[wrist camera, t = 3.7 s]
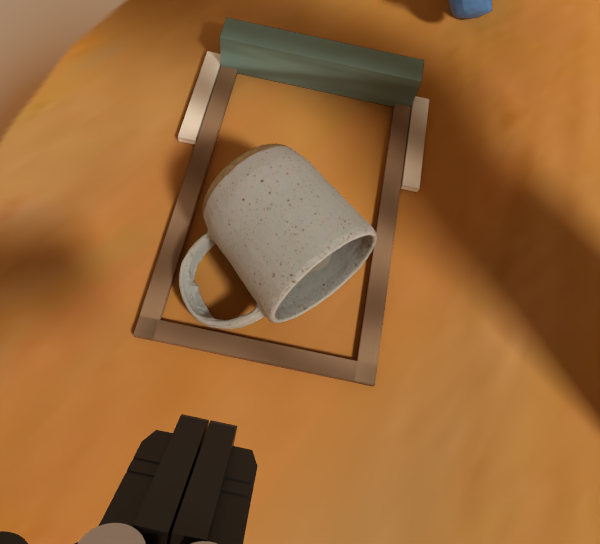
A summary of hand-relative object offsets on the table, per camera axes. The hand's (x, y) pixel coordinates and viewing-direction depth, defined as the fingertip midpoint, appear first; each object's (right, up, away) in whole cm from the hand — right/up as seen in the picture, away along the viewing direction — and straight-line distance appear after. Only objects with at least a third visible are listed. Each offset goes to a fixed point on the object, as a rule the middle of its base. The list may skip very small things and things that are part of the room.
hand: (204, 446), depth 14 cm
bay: (+2, +10, +21) cm, 24 cm away
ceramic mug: (0, +5, +19) cm, 20 cm away
